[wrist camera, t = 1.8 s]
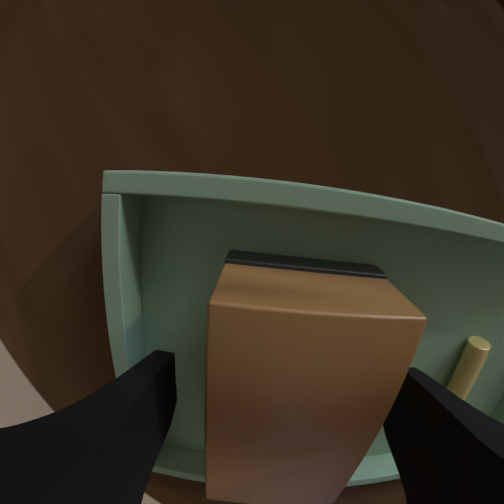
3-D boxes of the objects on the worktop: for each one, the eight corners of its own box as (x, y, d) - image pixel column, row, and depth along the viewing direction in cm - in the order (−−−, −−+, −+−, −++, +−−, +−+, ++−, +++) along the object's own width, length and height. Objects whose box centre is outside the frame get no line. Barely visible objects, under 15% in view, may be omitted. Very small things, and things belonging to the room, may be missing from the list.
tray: (477, 430, 12) (491, 451, 10) (151, 437, 12) (138, 468, 10) (556, 240, 8) (583, 250, 6) (134, 170, 9) (102, 170, 7)
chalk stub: (442, 407, 9) (439, 391, 10) (464, 410, 9) (460, 394, 10) (471, 347, 8) (465, 333, 9) (494, 350, 8) (487, 337, 9)
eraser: (322, 440, 11) (333, 504, 7) (217, 434, 11) (205, 500, 7) (376, 264, 9) (430, 313, 5) (229, 248, 9) (206, 296, 5)
